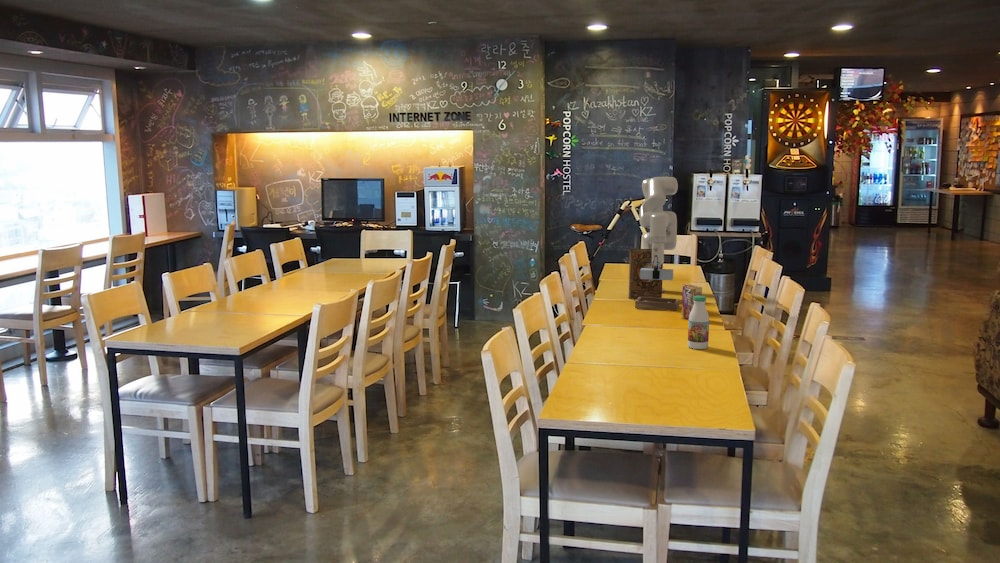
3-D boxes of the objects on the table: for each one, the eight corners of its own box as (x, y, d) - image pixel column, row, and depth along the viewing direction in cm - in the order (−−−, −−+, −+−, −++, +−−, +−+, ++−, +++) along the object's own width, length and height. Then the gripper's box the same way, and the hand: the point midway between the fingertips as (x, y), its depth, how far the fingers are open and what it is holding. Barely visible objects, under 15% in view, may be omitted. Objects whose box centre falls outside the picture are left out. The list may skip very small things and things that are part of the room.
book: (628, 299, 401) (630, 250, 397) (628, 297, 406) (629, 248, 402) (661, 299, 399) (663, 250, 395) (660, 297, 405) (662, 249, 401)
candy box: (701, 321, 351) (702, 287, 348) (693, 322, 349) (695, 287, 346) (688, 317, 359) (689, 283, 356) (680, 318, 357) (682, 284, 354)
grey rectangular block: (673, 278, 379) (673, 269, 378) (672, 280, 374) (672, 270, 373) (641, 277, 383) (641, 268, 383) (640, 278, 379) (640, 269, 378)
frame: (638, 303, 389) (638, 296, 389) (678, 305, 384) (679, 298, 383) (635, 308, 378) (635, 301, 377) (676, 311, 372) (676, 303, 371)
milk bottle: (684, 345, 309) (686, 294, 305) (704, 344, 309) (706, 294, 306) (691, 350, 301) (693, 298, 298) (711, 349, 302) (713, 298, 298)
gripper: (663, 242, 366) (662, 281, 370) (667, 238, 382) (666, 275, 386) (647, 241, 369) (646, 280, 372) (651, 237, 385) (650, 274, 388)
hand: (656, 277), depth 379 cm, fingers closed on grey rectangular block, 5 cm apart
